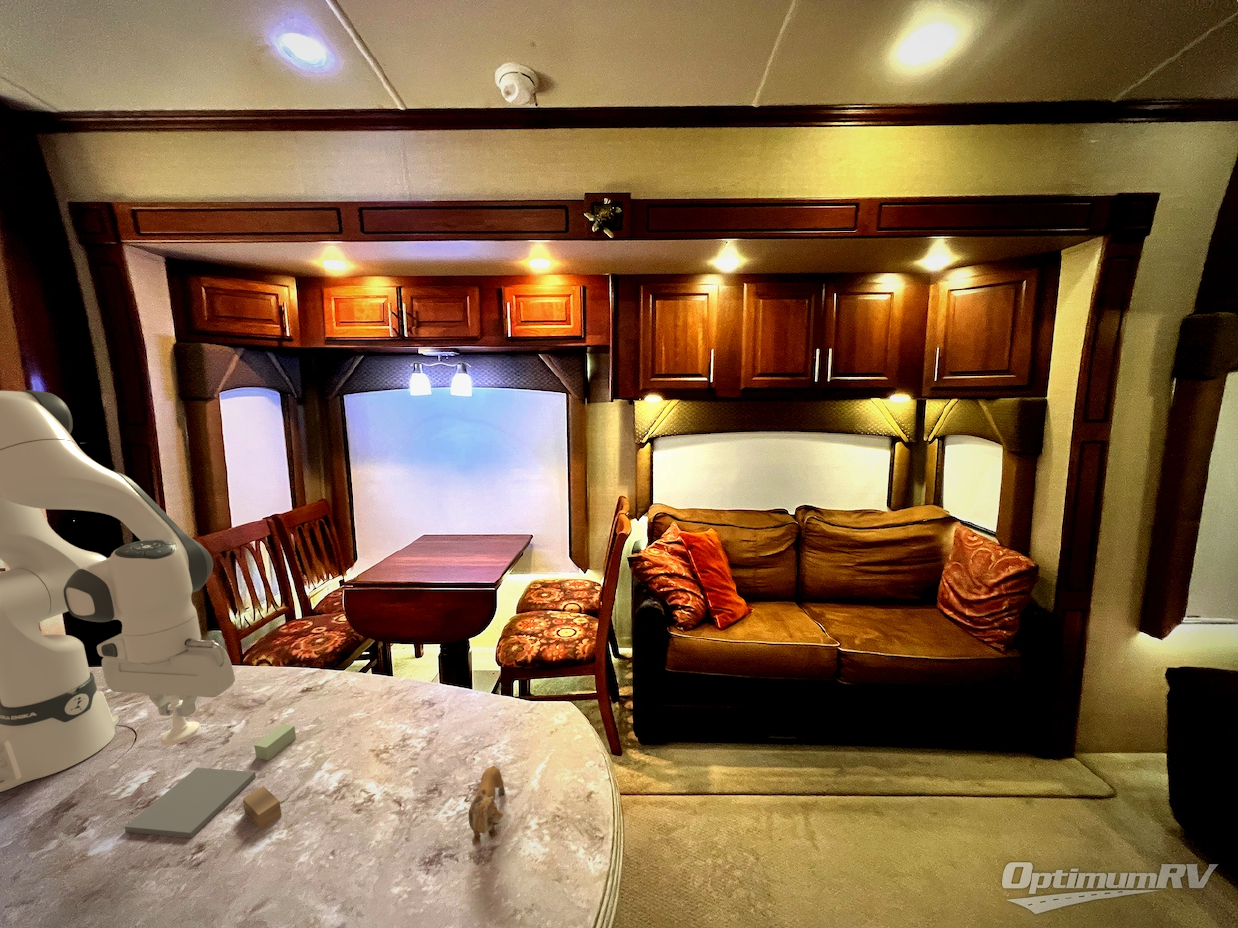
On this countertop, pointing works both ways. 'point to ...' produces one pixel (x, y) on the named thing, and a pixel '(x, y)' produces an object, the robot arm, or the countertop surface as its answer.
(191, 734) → the chess piece
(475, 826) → the lion figurine
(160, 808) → the slate tile
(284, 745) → the sage brick
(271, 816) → the walnut brick
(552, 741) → the countertop surface
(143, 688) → the robot arm
